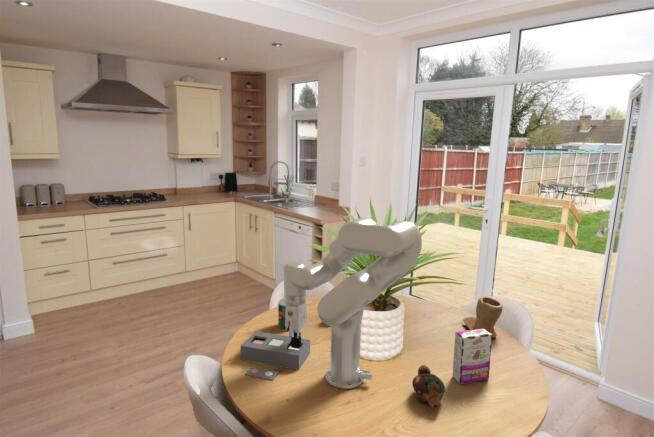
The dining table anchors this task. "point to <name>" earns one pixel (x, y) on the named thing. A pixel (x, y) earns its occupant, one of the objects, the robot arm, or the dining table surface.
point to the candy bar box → (472, 355)
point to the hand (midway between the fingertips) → (296, 347)
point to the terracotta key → (258, 341)
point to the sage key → (276, 343)
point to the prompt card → (261, 373)
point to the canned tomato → (281, 315)
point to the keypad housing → (274, 351)
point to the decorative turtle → (428, 387)
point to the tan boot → (485, 315)
